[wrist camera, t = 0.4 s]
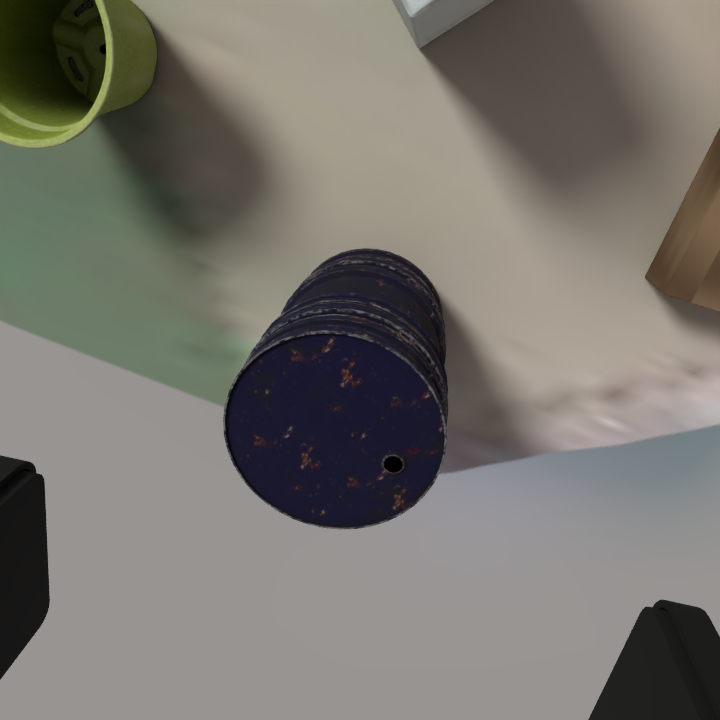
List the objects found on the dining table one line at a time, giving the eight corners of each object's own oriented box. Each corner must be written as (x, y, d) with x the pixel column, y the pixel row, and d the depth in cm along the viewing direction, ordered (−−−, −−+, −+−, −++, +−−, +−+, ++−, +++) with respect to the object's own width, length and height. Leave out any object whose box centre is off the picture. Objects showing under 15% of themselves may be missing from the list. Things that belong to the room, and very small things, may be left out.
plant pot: (94, 165, 38) (3, 183, 30) (-4, 13, 35) (-132, -13, 27) (217, 88, 35) (153, 84, 27) (122, -84, 32) (20, -143, 25)
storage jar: (271, 352, 41) (190, 476, 28) (327, 219, 38) (265, 287, 24) (404, 412, 42) (389, 563, 28) (472, 288, 38) (493, 393, 24)
